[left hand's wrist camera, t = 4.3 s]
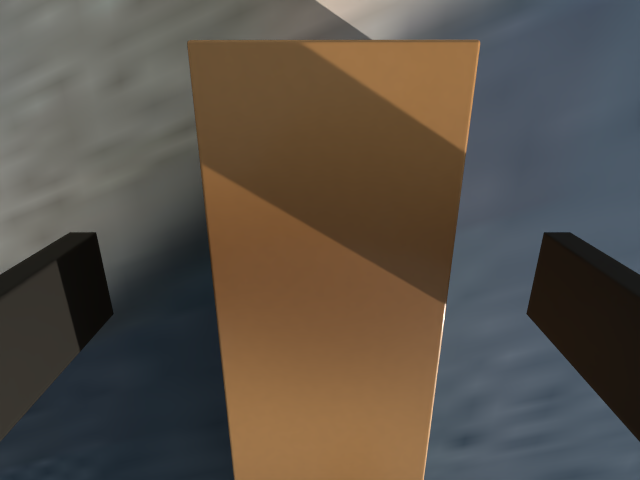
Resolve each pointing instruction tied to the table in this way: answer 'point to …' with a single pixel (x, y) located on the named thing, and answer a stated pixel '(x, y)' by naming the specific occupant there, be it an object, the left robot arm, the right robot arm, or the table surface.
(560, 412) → the table surface
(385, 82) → the bar
